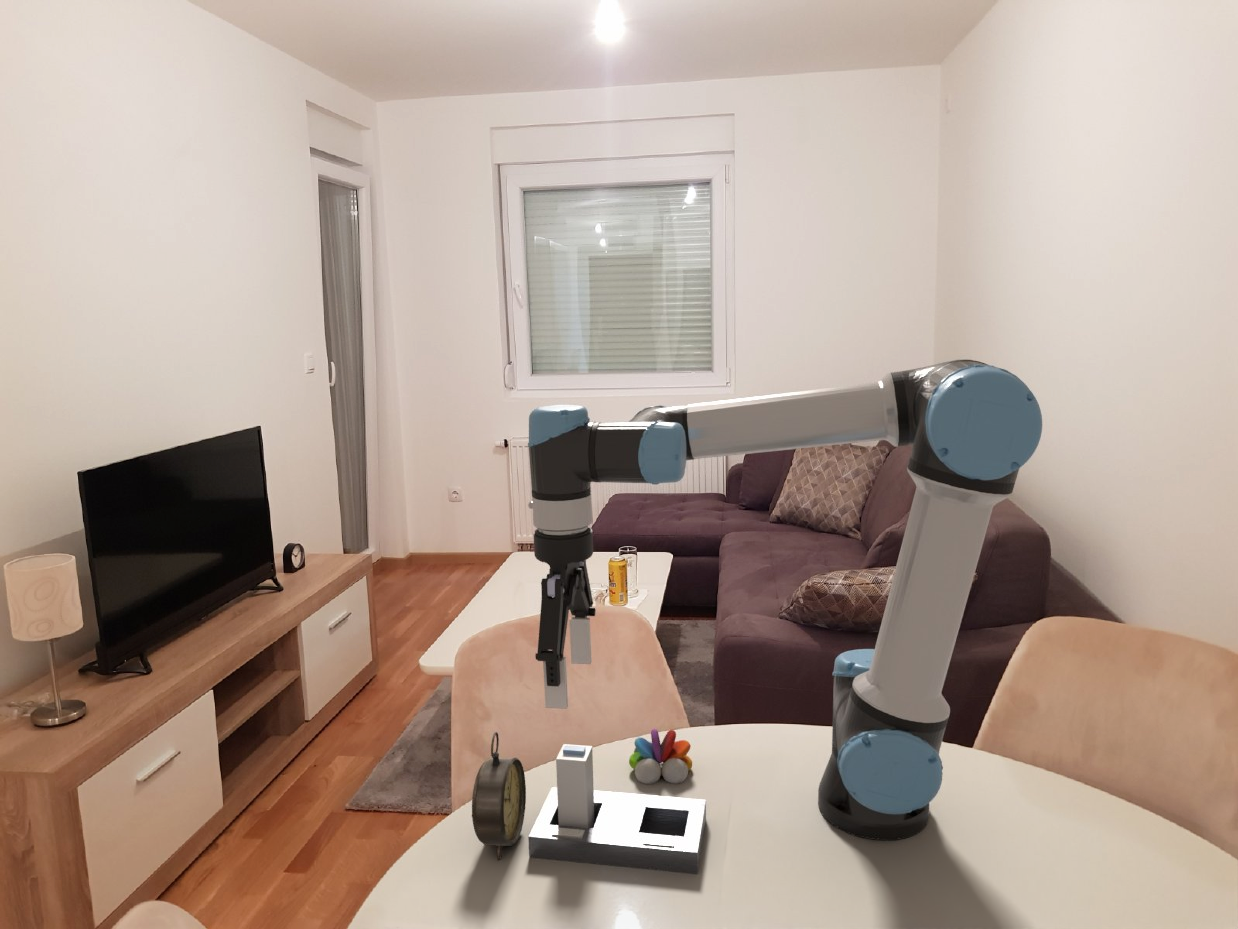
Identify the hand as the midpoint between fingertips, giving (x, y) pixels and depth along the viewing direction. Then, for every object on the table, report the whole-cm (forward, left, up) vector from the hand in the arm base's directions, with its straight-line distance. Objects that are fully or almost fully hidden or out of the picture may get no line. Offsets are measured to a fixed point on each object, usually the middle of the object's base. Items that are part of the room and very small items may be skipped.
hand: (569, 684), depth 116 cm
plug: (0, 0, -22) cm, 22 cm away
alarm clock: (+10, +3, -23) cm, 25 cm away
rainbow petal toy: (-9, -18, -23) cm, 30 cm away
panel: (-6, 0, -22) cm, 23 cm away
